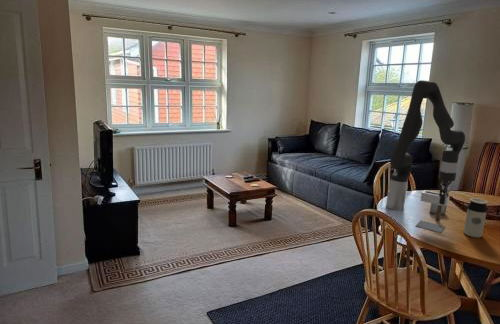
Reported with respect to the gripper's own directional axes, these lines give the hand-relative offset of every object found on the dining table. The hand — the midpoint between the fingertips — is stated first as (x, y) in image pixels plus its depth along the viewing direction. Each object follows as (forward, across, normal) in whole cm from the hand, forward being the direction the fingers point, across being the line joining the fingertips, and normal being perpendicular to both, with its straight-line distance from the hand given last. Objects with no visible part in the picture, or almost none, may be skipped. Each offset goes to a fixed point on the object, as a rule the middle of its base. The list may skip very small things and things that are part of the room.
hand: (443, 202), depth 183 cm
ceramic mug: (+15, -26, -6) cm, 30 cm away
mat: (+14, 0, -4) cm, 15 cm away
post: (+14, -12, -3) cm, 19 cm away
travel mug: (+15, -4, +14) cm, 21 cm away
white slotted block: (+1, 0, -4) cm, 4 cm away
